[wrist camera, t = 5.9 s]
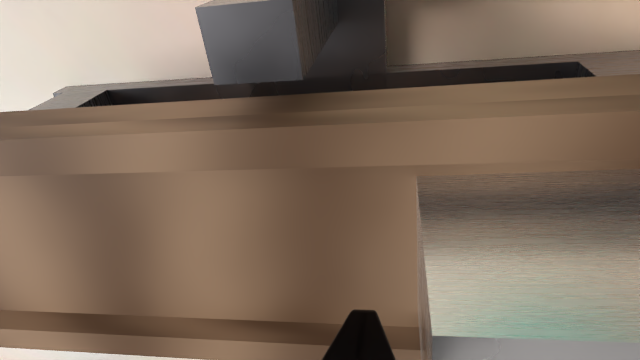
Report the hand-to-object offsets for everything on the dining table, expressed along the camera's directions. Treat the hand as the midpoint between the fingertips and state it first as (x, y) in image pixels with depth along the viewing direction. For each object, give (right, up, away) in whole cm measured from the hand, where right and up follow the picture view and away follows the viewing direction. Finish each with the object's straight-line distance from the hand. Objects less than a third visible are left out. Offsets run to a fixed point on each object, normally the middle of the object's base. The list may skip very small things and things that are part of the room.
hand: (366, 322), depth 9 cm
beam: (-2, +2, +3) cm, 4 cm away
